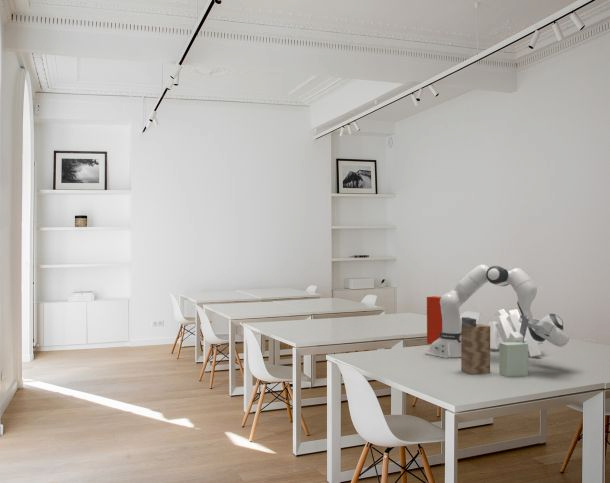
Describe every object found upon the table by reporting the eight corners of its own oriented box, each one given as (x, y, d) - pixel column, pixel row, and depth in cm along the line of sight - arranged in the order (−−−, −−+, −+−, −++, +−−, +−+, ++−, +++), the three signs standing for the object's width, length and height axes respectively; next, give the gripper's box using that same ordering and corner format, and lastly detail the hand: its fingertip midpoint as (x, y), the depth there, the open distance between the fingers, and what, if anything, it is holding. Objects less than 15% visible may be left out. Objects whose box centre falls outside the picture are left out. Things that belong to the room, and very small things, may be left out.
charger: (524, 313, 310) (514, 314, 309) (530, 318, 306) (519, 320, 304) (518, 340, 318) (508, 341, 316) (524, 345, 314) (513, 347, 312)
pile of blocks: (554, 363, 360) (545, 310, 376) (538, 351, 339) (529, 295, 355) (500, 371, 379) (493, 320, 395) (481, 360, 358) (475, 307, 375)
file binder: (446, 347, 383) (446, 299, 383) (426, 343, 397) (426, 296, 397) (454, 346, 388) (454, 298, 388) (434, 342, 402) (434, 296, 402)
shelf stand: (480, 369, 319) (480, 316, 319) (490, 373, 310) (490, 318, 310) (461, 370, 315) (461, 317, 315) (470, 374, 307) (470, 319, 307)
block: (519, 372, 311) (519, 341, 311) (527, 375, 305) (527, 344, 305) (499, 373, 308) (499, 342, 308) (507, 376, 301) (507, 345, 301)
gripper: (533, 320, 322) (514, 309, 319) (558, 326, 302) (538, 313, 299) (528, 330, 321) (509, 319, 318) (553, 336, 302) (533, 324, 298)
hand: (523, 316), depth 308 cm, fingers closed on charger, 4 cm apart
